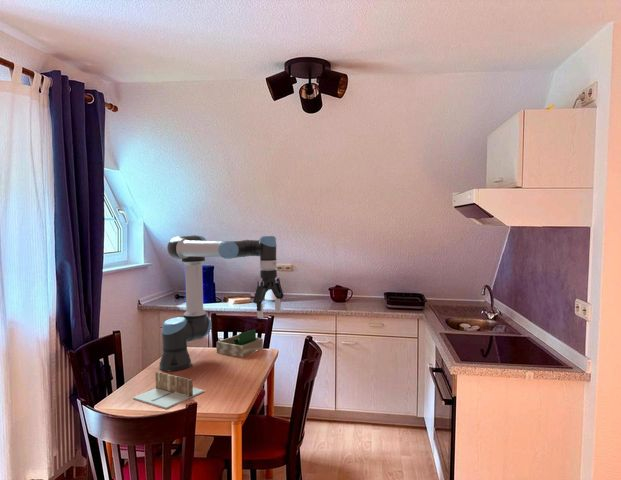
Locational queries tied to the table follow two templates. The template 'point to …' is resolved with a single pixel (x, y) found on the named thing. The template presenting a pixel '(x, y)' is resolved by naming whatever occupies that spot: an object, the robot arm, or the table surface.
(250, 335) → the pixelated creature
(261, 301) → the robot arm
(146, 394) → the card
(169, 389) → the fence fixed
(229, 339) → the box
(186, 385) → the fence gate
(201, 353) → the table surface
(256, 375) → the table surface
